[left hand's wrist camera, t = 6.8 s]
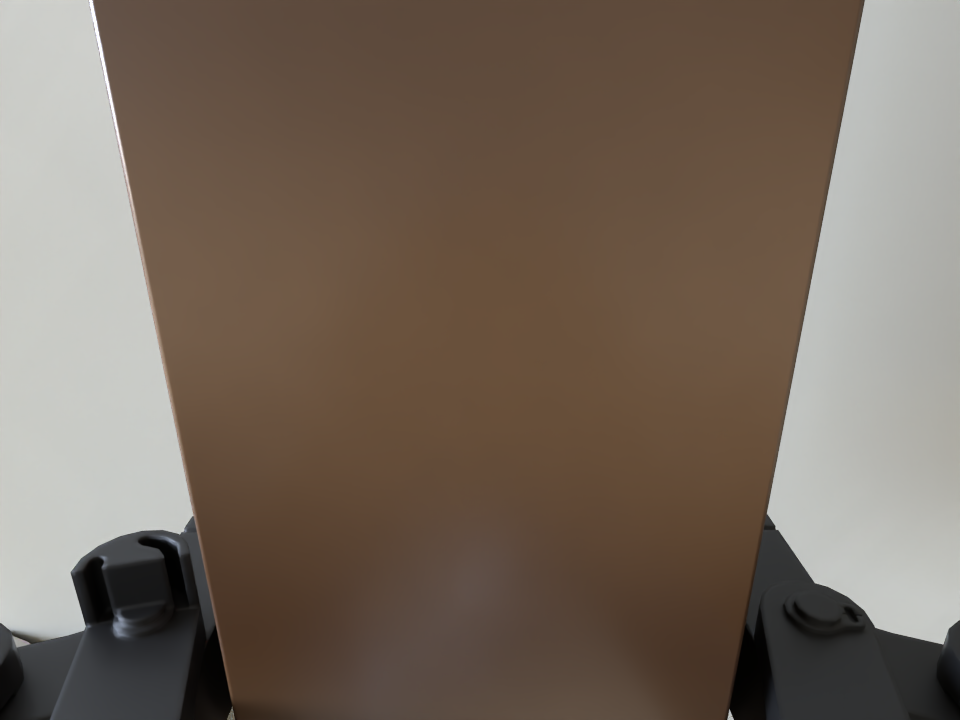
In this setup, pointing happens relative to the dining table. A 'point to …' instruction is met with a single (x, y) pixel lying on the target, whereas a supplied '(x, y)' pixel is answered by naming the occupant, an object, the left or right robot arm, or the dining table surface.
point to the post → (478, 333)
